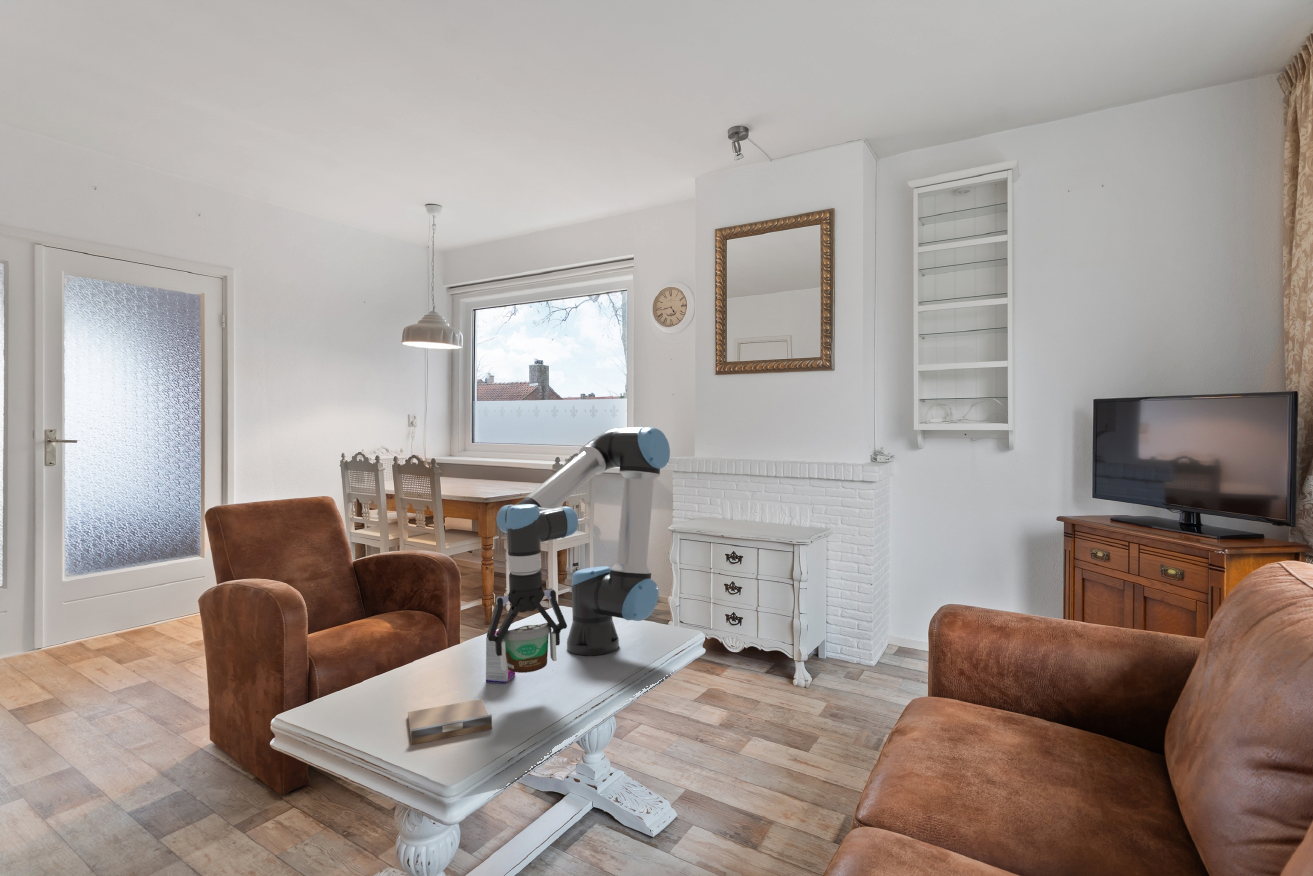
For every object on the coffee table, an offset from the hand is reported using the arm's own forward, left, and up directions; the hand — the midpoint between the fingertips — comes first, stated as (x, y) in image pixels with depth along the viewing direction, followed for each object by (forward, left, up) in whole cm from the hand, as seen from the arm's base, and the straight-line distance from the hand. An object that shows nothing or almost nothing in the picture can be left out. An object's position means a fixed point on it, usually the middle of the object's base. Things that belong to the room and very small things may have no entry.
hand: (528, 663), depth 152 cm
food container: (0, 0, -1) cm, 2 cm away
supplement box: (+4, -17, -9) cm, 19 cm away
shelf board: (+19, +4, -9) cm, 21 cm away
